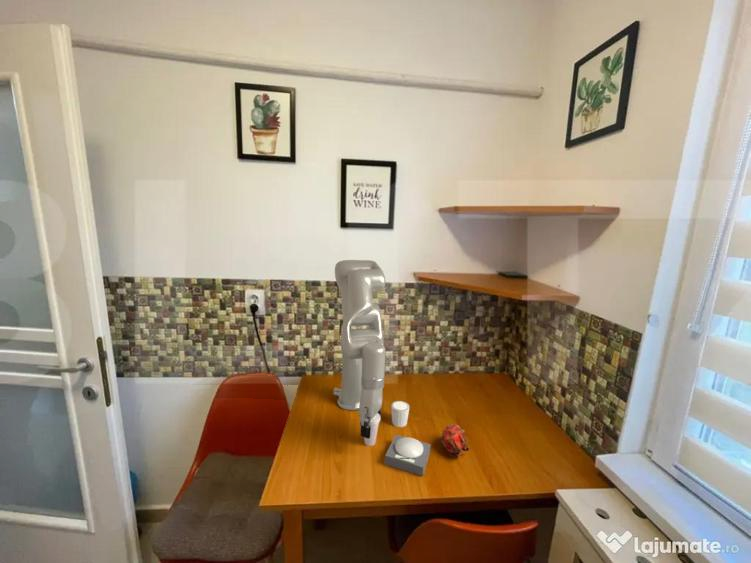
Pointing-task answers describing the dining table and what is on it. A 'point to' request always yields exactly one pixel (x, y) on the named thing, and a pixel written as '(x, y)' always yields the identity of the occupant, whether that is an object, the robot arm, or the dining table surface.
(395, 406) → the white cup
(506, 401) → the dining table surface
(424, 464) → the scale
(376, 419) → the smoothie
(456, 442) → the dragon fruit
